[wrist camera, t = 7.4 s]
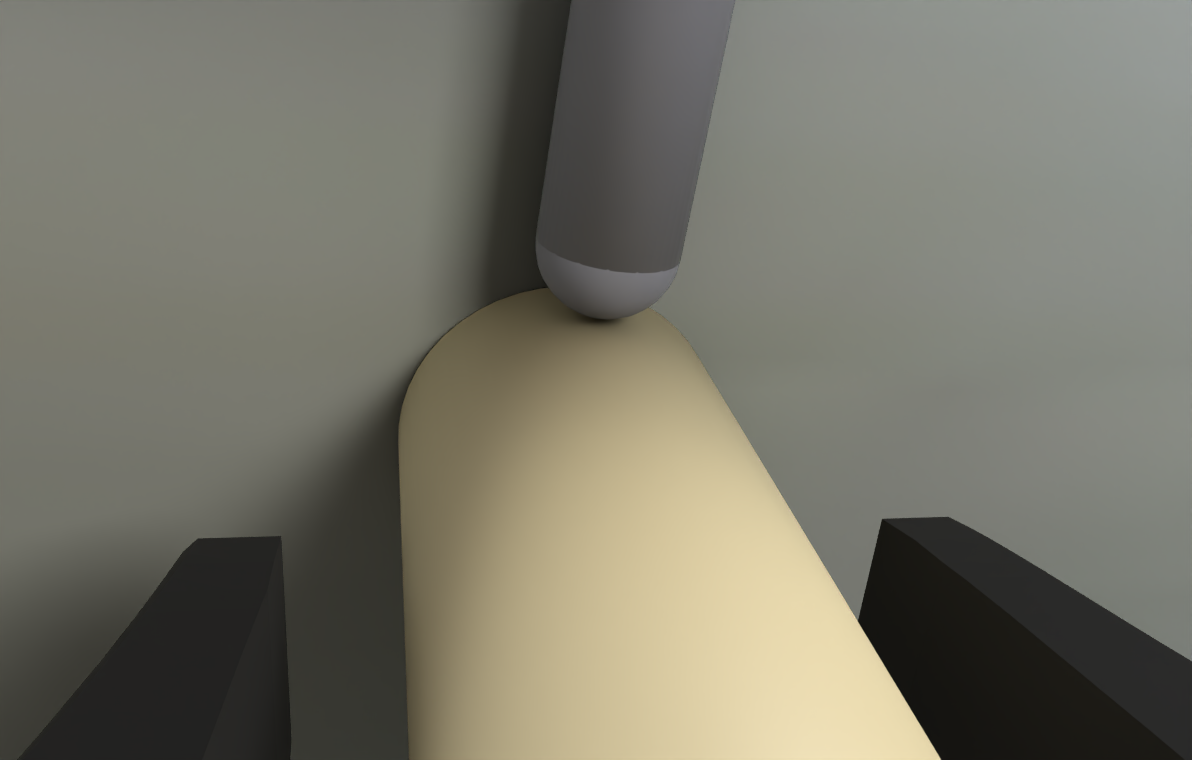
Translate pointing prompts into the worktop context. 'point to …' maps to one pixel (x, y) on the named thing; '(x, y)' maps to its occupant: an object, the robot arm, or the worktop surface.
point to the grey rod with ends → (616, 476)
